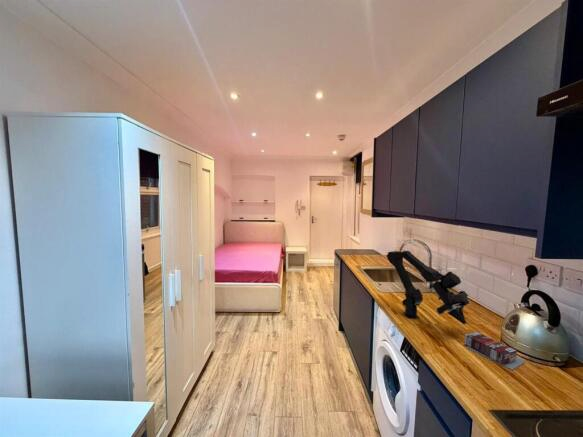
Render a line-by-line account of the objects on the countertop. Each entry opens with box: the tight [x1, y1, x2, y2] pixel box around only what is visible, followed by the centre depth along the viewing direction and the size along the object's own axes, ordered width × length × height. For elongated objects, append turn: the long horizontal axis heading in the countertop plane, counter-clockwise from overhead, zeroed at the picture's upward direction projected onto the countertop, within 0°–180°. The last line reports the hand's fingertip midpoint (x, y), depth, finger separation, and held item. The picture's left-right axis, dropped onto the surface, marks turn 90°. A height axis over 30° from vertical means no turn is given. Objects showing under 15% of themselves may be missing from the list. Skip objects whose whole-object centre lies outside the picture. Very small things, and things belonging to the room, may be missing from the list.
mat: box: [465, 345, 527, 371], centre depth 109 cm, size 17×12×1 cm
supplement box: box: [464, 331, 518, 366], centre depth 110 cm, size 9×5×16 cm
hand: (465, 323), depth 120 cm, fingers closed
